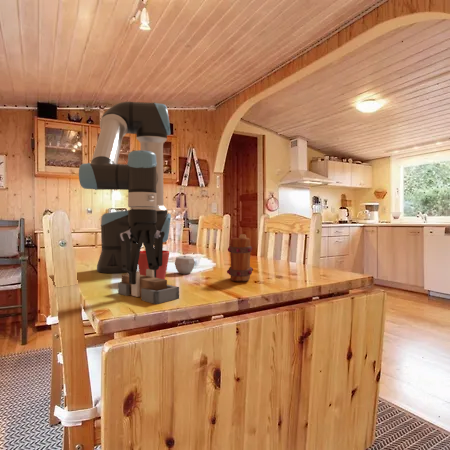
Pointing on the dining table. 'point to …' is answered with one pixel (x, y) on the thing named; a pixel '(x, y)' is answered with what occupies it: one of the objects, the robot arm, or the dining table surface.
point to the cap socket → (160, 294)
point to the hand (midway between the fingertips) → (143, 294)
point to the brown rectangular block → (147, 283)
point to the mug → (240, 259)
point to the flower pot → (144, 265)
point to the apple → (184, 264)
